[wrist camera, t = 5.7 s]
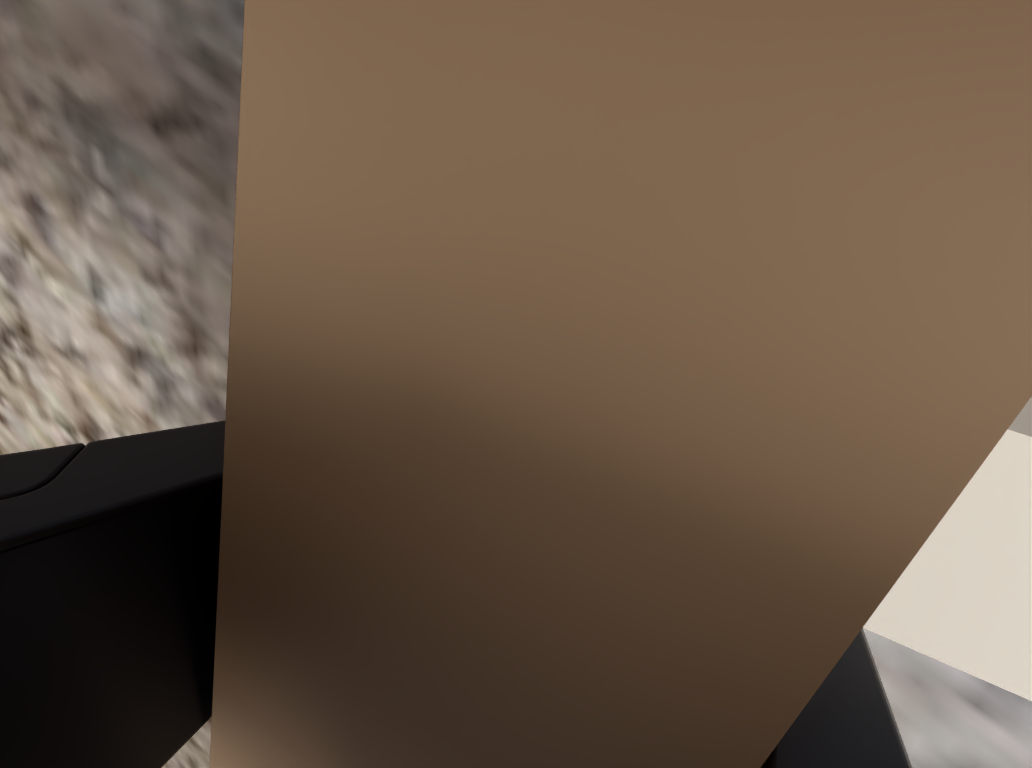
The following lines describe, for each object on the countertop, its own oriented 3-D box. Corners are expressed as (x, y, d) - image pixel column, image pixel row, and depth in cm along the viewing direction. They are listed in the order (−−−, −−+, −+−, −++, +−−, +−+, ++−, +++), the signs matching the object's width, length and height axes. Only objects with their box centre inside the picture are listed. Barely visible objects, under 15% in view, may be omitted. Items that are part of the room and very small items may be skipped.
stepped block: (1065, 598, 11) (1079, 760, 9) (420, 349, 15) (312, 414, 13) (1225, 344, 9) (1299, 466, 7) (434, 138, 13) (310, 169, 11)
